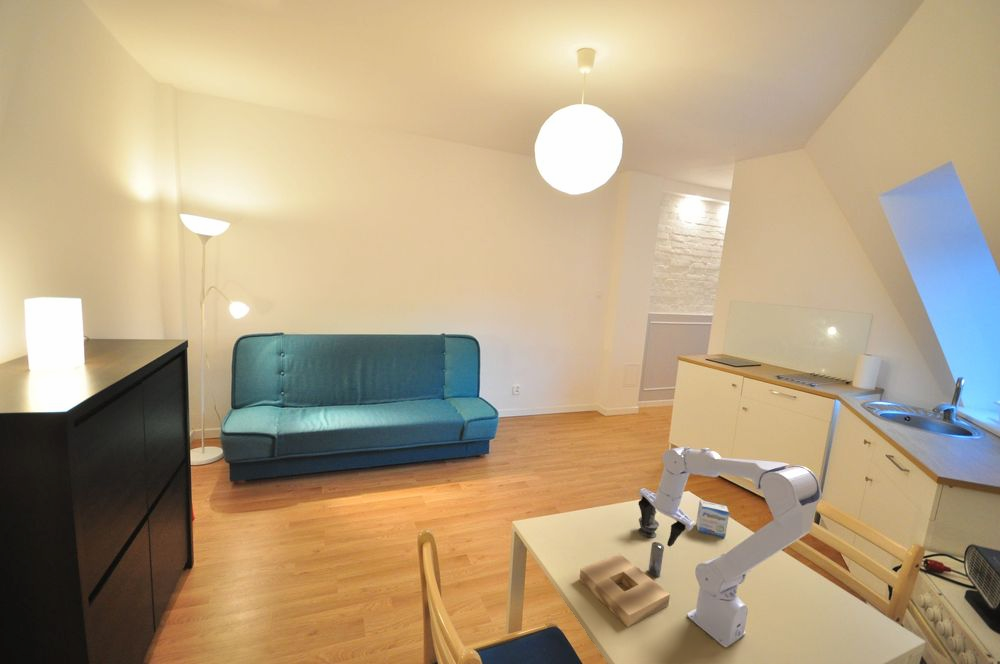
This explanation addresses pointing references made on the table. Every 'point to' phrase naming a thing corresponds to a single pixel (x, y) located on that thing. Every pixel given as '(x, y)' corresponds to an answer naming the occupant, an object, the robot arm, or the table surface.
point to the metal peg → (656, 559)
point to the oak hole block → (624, 604)
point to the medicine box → (712, 518)
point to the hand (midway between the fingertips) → (657, 534)
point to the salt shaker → (649, 526)
